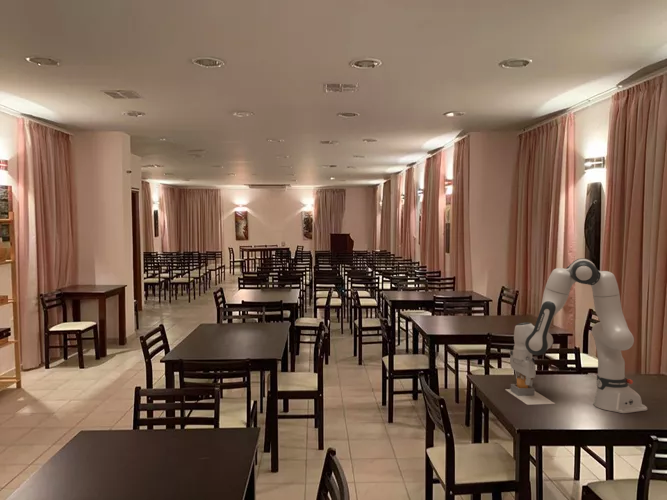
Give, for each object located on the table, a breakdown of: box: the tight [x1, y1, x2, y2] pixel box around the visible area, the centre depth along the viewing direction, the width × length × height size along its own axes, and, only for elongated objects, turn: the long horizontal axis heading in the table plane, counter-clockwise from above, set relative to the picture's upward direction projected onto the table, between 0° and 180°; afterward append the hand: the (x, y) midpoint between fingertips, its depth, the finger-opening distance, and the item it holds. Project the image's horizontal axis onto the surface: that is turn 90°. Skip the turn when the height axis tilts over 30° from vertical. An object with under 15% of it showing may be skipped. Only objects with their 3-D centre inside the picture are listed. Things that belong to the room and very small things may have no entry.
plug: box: [516, 376, 528, 388], centre depth 263 cm, size 4×4×9 cm
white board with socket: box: [504, 383, 556, 406], centre depth 258 cm, size 14×24×4 cm, turn 6°
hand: (522, 382), depth 263 cm, fingers open, 8 cm apart
